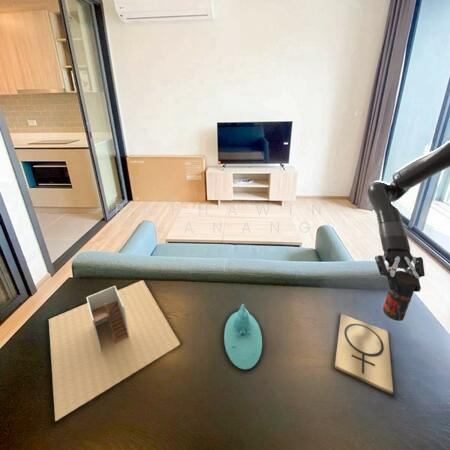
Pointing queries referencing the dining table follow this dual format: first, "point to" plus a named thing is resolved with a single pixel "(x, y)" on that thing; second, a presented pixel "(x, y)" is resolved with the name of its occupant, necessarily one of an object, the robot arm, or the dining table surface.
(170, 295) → the dining table surface
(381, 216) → the robot arm
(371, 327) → the sketch board
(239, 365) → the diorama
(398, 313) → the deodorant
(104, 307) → the staircase
